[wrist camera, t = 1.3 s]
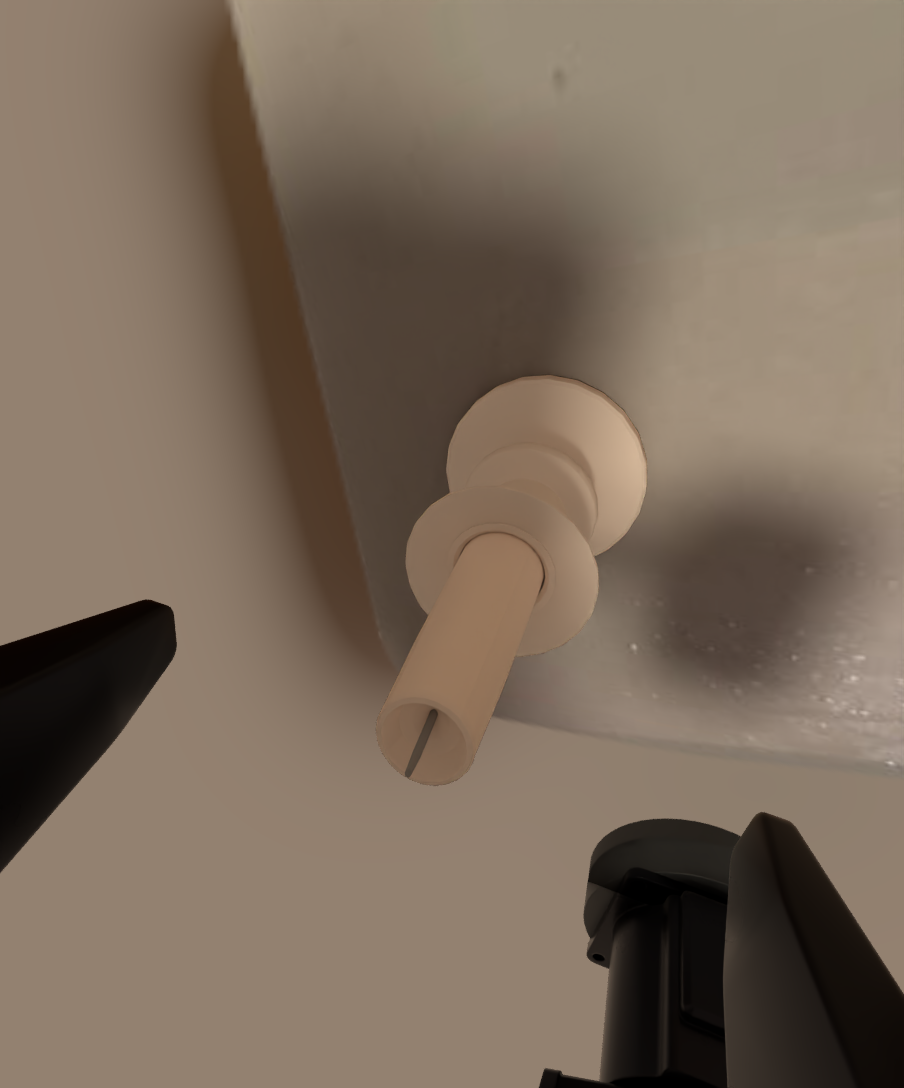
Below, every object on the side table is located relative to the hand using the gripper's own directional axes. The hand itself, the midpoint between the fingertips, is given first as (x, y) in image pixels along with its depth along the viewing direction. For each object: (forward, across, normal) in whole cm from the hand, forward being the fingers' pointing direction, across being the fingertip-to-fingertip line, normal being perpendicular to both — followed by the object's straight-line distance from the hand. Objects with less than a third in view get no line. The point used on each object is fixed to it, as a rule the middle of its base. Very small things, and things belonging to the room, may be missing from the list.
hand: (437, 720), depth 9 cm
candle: (+9, 0, 0) cm, 9 cm away
